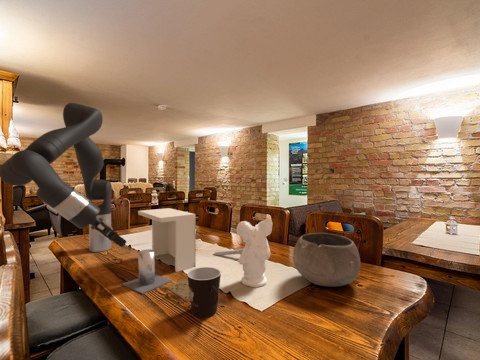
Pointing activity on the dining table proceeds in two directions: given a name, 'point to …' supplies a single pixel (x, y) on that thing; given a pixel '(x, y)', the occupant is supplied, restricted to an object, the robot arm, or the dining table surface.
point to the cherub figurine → (254, 251)
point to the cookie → (180, 289)
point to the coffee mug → (204, 291)
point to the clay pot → (327, 259)
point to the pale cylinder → (146, 267)
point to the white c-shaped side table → (174, 235)
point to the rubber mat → (146, 288)
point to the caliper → (229, 252)
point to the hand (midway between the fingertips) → (120, 241)
